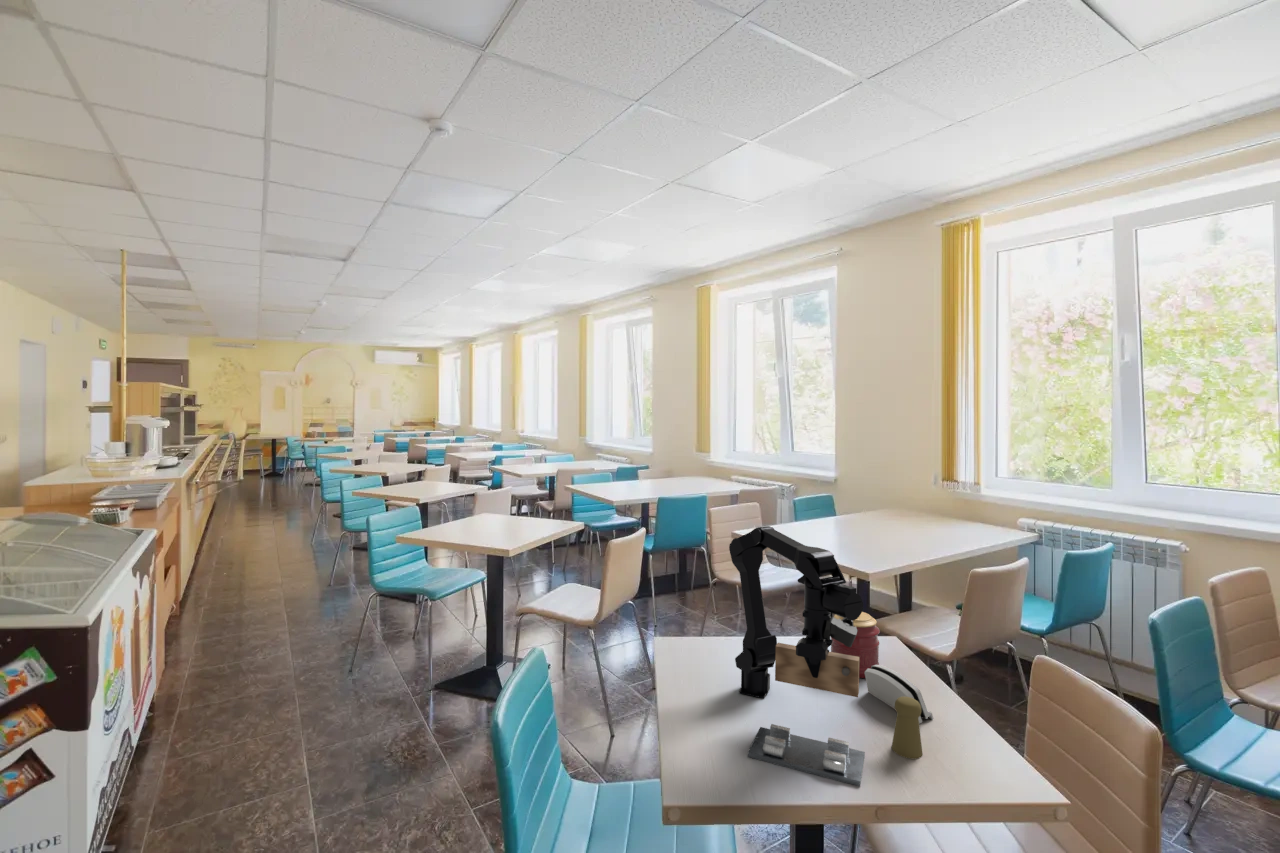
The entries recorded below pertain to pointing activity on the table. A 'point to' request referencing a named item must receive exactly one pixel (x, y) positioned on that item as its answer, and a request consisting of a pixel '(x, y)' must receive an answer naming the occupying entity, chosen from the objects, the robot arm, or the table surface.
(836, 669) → the cabinet door
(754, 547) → the robot arm
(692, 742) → the table surface
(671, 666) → the table surface
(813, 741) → the plate
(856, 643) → the canister
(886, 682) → the white curved block
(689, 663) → the table surface
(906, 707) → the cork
